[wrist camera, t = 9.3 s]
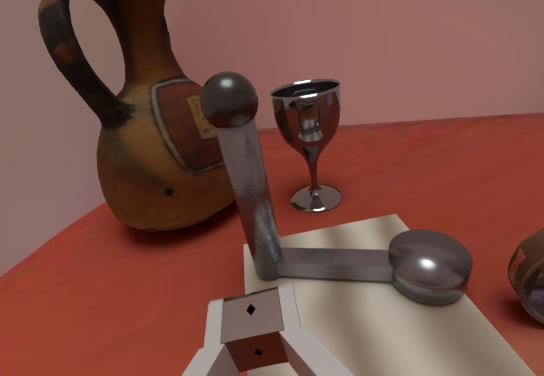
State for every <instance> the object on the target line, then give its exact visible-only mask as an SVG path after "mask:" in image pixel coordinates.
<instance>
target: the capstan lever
mask: <svg viewBox="0 0 544 376" xmlns="http://www.w3.org/2000/svg"><path fill="white" fill-rule="evenodd" d="M200 104H201V109H202V112H203V114H204V116H205V118H206V119H207V120H208V121H209V123H210V124H212V125H213V126H214V128H215V132H216V135H217V139H218V142H219V145H220V149H221V152H222V156H223V159H224V163H225V166H226V170H227V173H228V177H229V180H230V184H231V187H232V191H233V194H234V198H235V201H236V205H237V208H238V212H239V215H240V219H241V222H242V226H243V229H244V233H245V236H246V240H247V243H248V247H249V250H250V254H251V257H252V261H253V264H254V268H255V271H256V274H257V275H258V276H259V277H260V278H262V279H273V278H276V277H278V276H293V277H313V278H333V279H352V280H372V281H392V283H393V284H394V285H395V287H396V288H398V289H399V290H400V291H401V292H402V293H404V294H405V295H407V296H409V297H411V298H412V299H415V300H417V301H420V302H424V303H429V304H447V303H451V302H454V301H456V300H458V299H459V298H460V297H462V295H463V294H464V292H465V290H466V287H467V284H468V280H469V277H470V273H471V270H472V266H473V261H472V257H471V255H470V253H469V251H468V250H467V249H466V248H465V247H464V246H463V245H462V244H461V243H460V242H458V241H457V240H455V239H454V238H452V237H450V236H448V235H445V234H443V233H440V232H436V231H432V230H425V229H414V230H408V231H404V232H401V233H399V234H398V235H396V236H395V237H394V238H393V239H392V240H391V242H390V244H389V250H377V249H332V248H287V247H281V244H280V239H279V234H278V230H277V225H276V220H275V215H274V210H273V205H272V200H271V195H270V190H269V186H268V181H267V176H266V171H265V166H264V161H263V156H262V151H261V147H260V142H259V137H258V132H257V127H256V122H255V115H256V112H257V109H258V96H257V93H256V90H255V88H254V86H253V85H252V83H251V82H250V81H249V80H248V79H247V78H246V77H244V76H243V75H241V74H238V73H235V72H230V71H226V72H220V73H217V74H215V75H214V76H212V77H211V78H210V79H208V81H207V82H206V83H205V85H204V86H203V88H202V91H201V96H200Z"/></svg>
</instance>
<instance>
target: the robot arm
mask: <svg viewBox="0 0 544 376" xmlns="http://www.w3.org/2000/svg"><path fill="white" fill-rule="evenodd" d="M287 362H289V364H290V365H291V367H292V368H293V369H294V371H295V372H296V373H297V375H298V376H354V375H353V374H352V373H351V372H350V371H349V370H348V369H347V368H346V367H345V366H344V365H343V364H342V363H341V362H340V361H339V360H338V359H337V358H336V357H335V356H334V355H333V354H332V353H331V352H330V351H329V350H328V349H327V348H326V347H325V345H324V344H323V343H322V342H321V341H320V340H319V339H318V338H317V337H316V336H315V335H314V334H313V333H312V332H311V331H310V330H309V329H308V328H307V327H306V326H301V321H300V316H299V312H298V308H297V303H296V299H295V295H294V290H293V286H292V284H288V285H283V286H279V287H278V286H277V287H273V288H269V289H264V290H260V291H256V292H252V293H250V294H244V295H239V296H234V297H229V298H223V299H219V300H214V301H210V303H209V305H208V312H207V321H206V330H205V339H204V348H201V349H199V350H198V352H197V353H196V355H195V356H194V358H193V359H192V361H191V362H190V364H189V365H188V367H187V368H186V370H185V371H184V373H183V374H182V376H240V372H244V371H249V370H253V369H257V368H261V367H265V366H270V365H276V364H281V363H287Z"/></svg>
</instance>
